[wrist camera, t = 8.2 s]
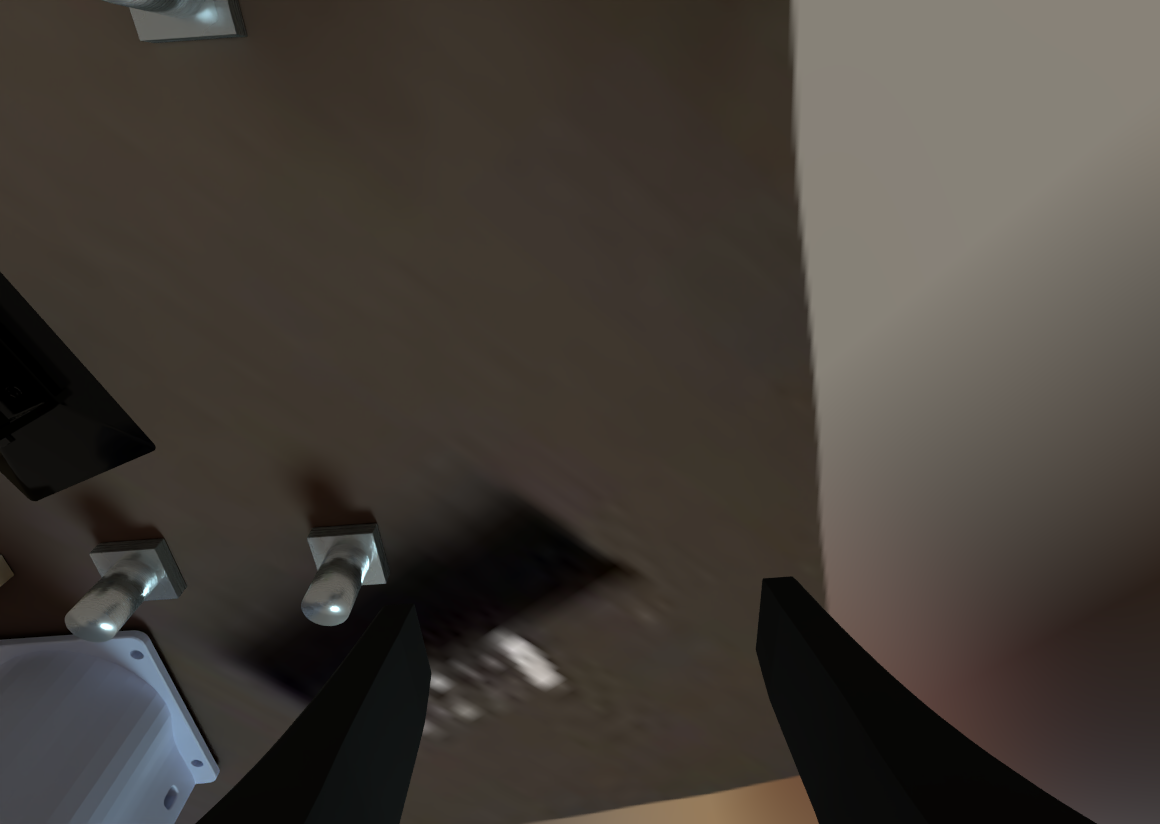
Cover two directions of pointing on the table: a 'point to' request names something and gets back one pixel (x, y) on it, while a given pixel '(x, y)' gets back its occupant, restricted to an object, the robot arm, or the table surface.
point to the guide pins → (146, 567)
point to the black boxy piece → (54, 408)
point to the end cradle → (4, 571)
